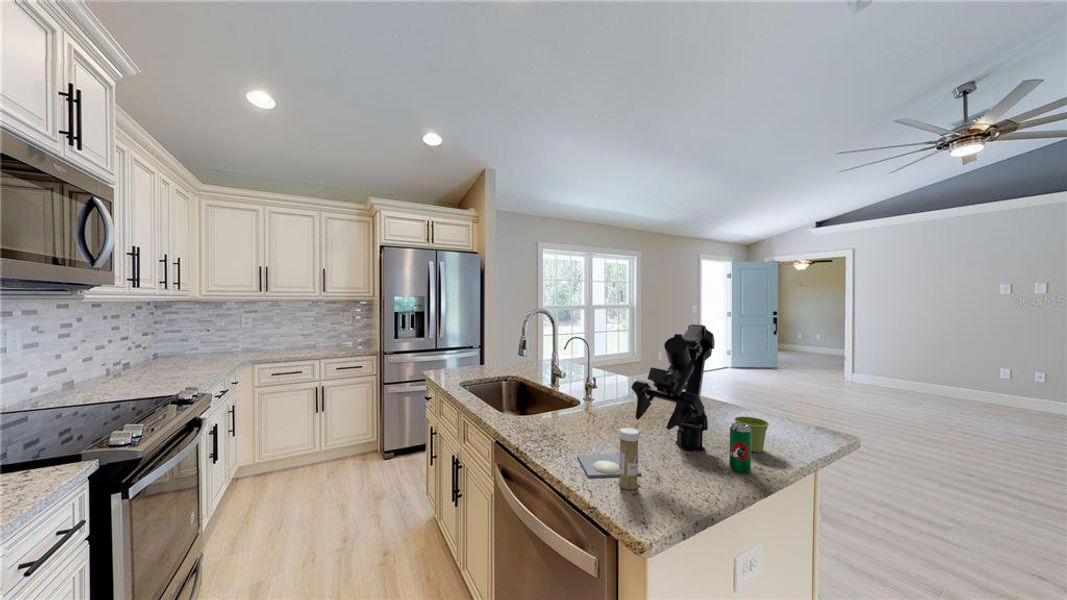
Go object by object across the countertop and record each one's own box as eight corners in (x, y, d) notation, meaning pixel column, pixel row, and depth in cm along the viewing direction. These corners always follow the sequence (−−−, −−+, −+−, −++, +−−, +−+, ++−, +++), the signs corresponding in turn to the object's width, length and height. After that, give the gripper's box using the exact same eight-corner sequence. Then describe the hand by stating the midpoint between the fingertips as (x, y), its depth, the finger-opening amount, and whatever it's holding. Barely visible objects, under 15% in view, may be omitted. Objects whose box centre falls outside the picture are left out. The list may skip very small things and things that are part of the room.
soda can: (755, 473, 97) (756, 428, 97) (738, 474, 96) (738, 429, 96) (741, 465, 102) (742, 421, 102) (724, 466, 101) (725, 422, 101)
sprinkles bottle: (636, 492, 87) (638, 434, 87) (617, 488, 88) (618, 431, 88) (638, 483, 91) (640, 428, 91) (619, 479, 93) (621, 426, 93)
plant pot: (726, 445, 116) (727, 418, 116) (747, 441, 120) (747, 414, 120) (755, 457, 108) (755, 427, 108) (776, 452, 111) (776, 423, 112)
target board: (624, 455, 107) (624, 452, 107) (641, 475, 95) (641, 472, 95) (577, 457, 105) (577, 454, 105) (588, 477, 93) (588, 474, 93)
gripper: (636, 352, 105) (608, 396, 98) (699, 361, 90) (672, 414, 83) (652, 376, 110) (627, 420, 103) (714, 389, 95) (690, 442, 88)
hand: (651, 423), depth 94 cm, fingers open, 9 cm apart
